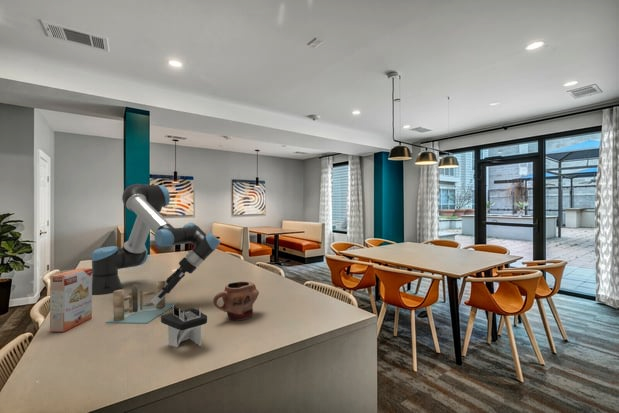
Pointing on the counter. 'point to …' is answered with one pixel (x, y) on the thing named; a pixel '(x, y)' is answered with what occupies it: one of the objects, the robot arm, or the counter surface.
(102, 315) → the counter surface
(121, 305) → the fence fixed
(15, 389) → the counter surface
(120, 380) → the counter surface
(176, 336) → the black-topped pedestal
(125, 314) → the card
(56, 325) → the cracker box
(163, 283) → the fence panel
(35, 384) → the counter surface
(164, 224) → the robot arm
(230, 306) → the brown sculpted mug
